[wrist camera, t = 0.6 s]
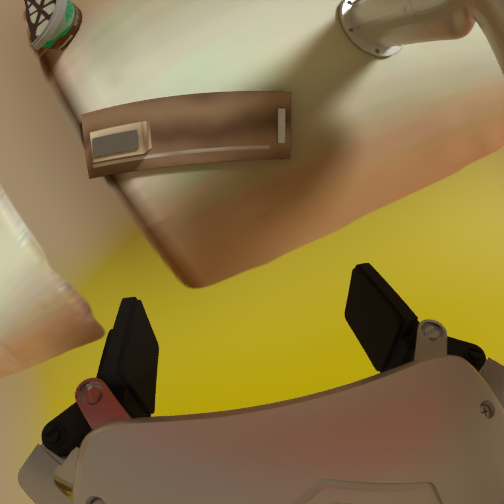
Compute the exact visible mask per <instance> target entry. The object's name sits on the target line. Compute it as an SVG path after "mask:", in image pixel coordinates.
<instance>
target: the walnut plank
mask: <svg viewBox="0 0 504 504" xmlns="http://www.w3.org/2000/svg"><path fill="white" fill-rule="evenodd" d="M81 119H82V129H83V139H84V147H85V154H86V161H87V167H88V173H89V178H90V179H91V178H96V177H101V176H107V175H112V174H118V173H124V172H131V171H137V170H144V169H151V168H159V167H167V166H176V165H186V164H196V163H208V162H221V161H238V160H261V159H290V131H291V92H273V91H234V92H213V93H199V94H188V95H179V96H171V97H163V98H156V99H150V100H144V101H138V102H133V103H128V104H123V105H118V106H114V107H109V108H105V109H101V110H97V111H93V112H89V113H86V114H82V115H81ZM148 120H150V133H151V145H152V148H151V149H149V150H148V151H147V152H145V153H144V154H138V155H132V156H126V157H120V158H114V159H109V160H104V161H99V162H93V155H92V147H91V139H90V133H91V132H94V131H98V130H102V129H106V128H110V127H115V126H120V125H125V124H130V123H136V122H142V121H148Z"/></svg>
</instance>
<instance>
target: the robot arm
mask: <svg viewBox="0 0 504 504" xmlns="http://www.w3.org/2000/svg"><path fill="white" fill-rule="evenodd" d="M339 14H340V21H341V24H342V27H343V29H344V31H345V32H346V34H347V36H348V37H349V38H350V39H351V40H352V42H353V43H354V44H356V45H357V46H358V47H359V48H360V49H362V50H363V51H365V52H367V53H369V54H371V55H375V56H380V57H385V56H391V55H394V54H396V53H397V52H399V51H400V50H401V48H402V46H403V45H406V44H413V43H420V42H429V41H440V40H453V39H460V38H463V37H464V36H466V35H467V34H468V33H469V32H470V31H471V30H472V28H473V26H474V24H475V22H477V23H478V24H479V26H480V28H481V29H482V31H483V33H484V34H485V36H486V38H487V40H488V42H489V44H490V46H491V48H492V50H493V52H494V54H495V57H496V59H497V61H498V64H499V66H500V68H501V70H502V73H503V75H504V0H344V1H343V2H342V4H341V6H340V12H339ZM349 30H350V31H349ZM345 318H346V321H347V322H348V324H349V326H350V327H351V329H352V330H353V332H354V334H355V335H356V337H357V339H358V340H359V342H360V344H361V345H362V347H363V349H364V350H365V352H366V354H367V355H368V357H369V359H370V361H371V362H372V364H373V366H374V367H375V369H376V370H377V371H380V373H379V374H377V375H374V376H371V377H368V378H365V379H362V380H359V381H356V382H353V383H350V384H347V385H343V386H340V387H336V388H333V389H329V390H326V391H323V392H318V393H315V394H311V395H307V396H303V397H299V398H295V399H290V400H285V401H281V402H275V403H271V404H265V405H259V406H254V407H248V408H241V409H235V410H228V411H219V412H210V413H200V414H188V415H175V416H158V417H151V414H153V413H154V411H155V393H156V378H157V365H158V354H159V346H158V342H157V340H156V337H155V335H154V333H153V330H152V327H151V325H150V322H149V320H148V317H147V315H146V312H145V310H144V307H143V304H142V302H141V300H137V298H136V297H130V298H123V299H122V301H121V305H120V308H119V311H118V314H117V317H116V320H115V323H114V327H113V329H111V330H110V331H109V333H108V336H107V339H106V343H105V346H104V350H103V354H102V358H101V361H100V365H99V369H98V373H97V377H96V378H89V379H86V380H84V381H83V382H82V383H81V384H79V386H78V387H77V389H76V392H75V399H76V402H75V403H74V404H73V405H71V406H70V407H69V408H68V409H66V410H65V411H64V412H62V413H61V414H60V415H58V416H57V417H56V418H54V419H53V420H52V421H50V422H49V423H48V424H47V425H46V426H45V427H44V429H43V431H42V442H43V443H42V444H41V445H39V444H38V445H37V446H36V447H35V449H34V450H33V452H32V453H31V454H30V456H29V457H28V459H27V460H26V462H25V463H24V465H23V466H22V468H21V469H20V471H19V473H18V481H19V484H20V486H21V488H22V489H23V490H24V491H25V492H26V494H27V495H28V496H29V497H30V498H31V499H32V500H33V501H34V502H35V504H504V366H503V365H501V364H499V363H498V362H496V361H494V360H492V359H491V358H488V359H486V356H485V354H484V351H483V350H482V349H481V348H480V347H479V346H477V345H475V344H472V343H468V342H465V341H461V340H458V339H454V338H451V337H448V336H447V332H446V329H445V327H444V326H443V325H442V324H441V323H439V322H438V321H435V320H430V319H427V320H423V321H421V322H420V323H419V321H418V320H417V319H418V317H417V316H416V315H415V314H414V313H413V311H412V310H411V309H410V308H409V307H408V306H407V304H406V303H405V302H404V301H403V300H402V299H401V298H400V296H399V295H398V294H397V293H396V292H395V291H394V290H393V288H392V287H391V286H390V285H389V284H388V283H387V282H386V281H385V280H384V279H383V277H381V275H380V274H379V273H378V272H377V271H376V270H375V269H374V268H373V267H372V266H371V265H370V264H369V263H363V264H358V265H356V267H355V268H354V269H353V271H352V276H351V281H350V287H349V293H348V298H347V303H346V308H345Z"/></svg>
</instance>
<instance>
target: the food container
mask: <svg viewBox="0 0 504 504" xmlns="http://www.w3.org/2000/svg"><path fill="white" fill-rule="evenodd" d="M24 1H25V5H26V17H27V22H28V25H29V29H30V32H31V37H32V41H33V43H32V44H31V45H30V46H31V47H32V48H34V49H36V50H39V49H40V48H41V47H42V48H52V49H61V50H62V49H63V48H65V47H66V46H67V45H68V44H69V43H70V42H71V41H72V39H73V38H74V37H75V35H76V34H77V32H78V30H79V28H80V25H81V22H82V13H81V11H80V9H79V8H78V7H77V6H75V5H74V4H73V3H72V2H71V1H70V0H24Z"/></svg>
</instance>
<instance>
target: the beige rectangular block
mask: <svg viewBox="0 0 504 504" xmlns="http://www.w3.org/2000/svg"><path fill="white" fill-rule="evenodd" d="M90 139H91V147H92V155H93V162H99V161H104V160H109V159H114V158H120V157H126V156H132V155H138V154H144V153H145V152H147V151H148V150H149V149H151V148H152V145H151V133H150V120H148V121H142V122H136V123H130V124H125V125H120V126H115V127H110V128H106V129H102V130H98V131H94V132H91V133H90Z"/></svg>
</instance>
